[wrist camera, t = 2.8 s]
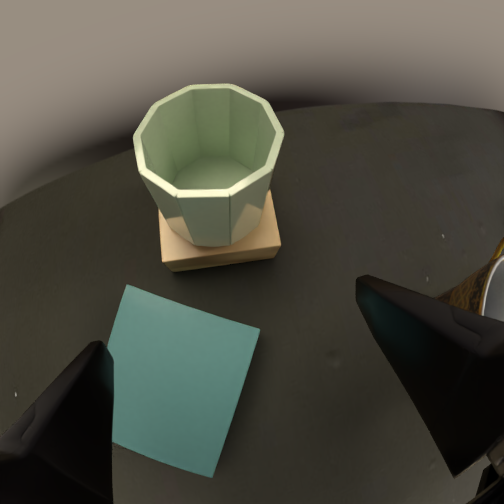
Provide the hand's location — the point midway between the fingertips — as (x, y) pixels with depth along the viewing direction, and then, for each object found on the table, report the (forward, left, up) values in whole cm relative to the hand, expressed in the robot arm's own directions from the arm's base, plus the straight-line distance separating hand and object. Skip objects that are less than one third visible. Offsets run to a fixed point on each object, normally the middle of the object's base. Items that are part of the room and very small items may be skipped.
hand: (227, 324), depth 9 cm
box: (+3, +5, -12) cm, 14 cm away
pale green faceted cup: (+4, -8, -9) cm, 12 cm away
